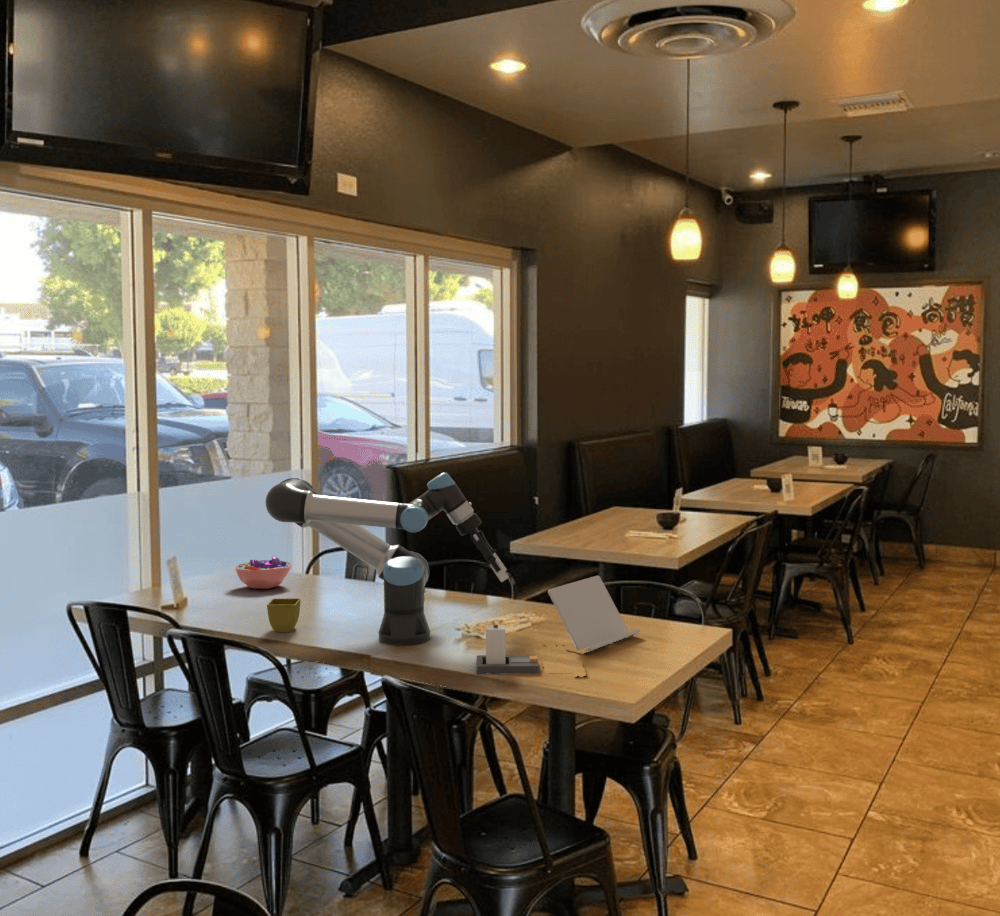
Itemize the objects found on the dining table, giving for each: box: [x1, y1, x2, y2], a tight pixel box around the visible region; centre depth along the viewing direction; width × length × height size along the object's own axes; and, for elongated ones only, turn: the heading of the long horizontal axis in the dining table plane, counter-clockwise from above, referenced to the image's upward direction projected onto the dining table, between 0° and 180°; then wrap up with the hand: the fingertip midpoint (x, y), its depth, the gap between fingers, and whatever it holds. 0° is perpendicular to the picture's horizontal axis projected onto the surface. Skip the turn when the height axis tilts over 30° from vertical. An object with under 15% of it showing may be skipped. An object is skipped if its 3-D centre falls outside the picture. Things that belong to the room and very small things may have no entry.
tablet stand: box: [547, 574, 642, 653], centre depth 307 cm, size 18×25×17 cm
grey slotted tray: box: [476, 654, 540, 675], centre depth 279 cm, size 16×10×4 cm, turn 92°
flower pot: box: [266, 597, 301, 633], centre depth 321 cm, size 9×9×9 cm
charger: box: [485, 624, 506, 664], centre depth 279 cm, size 5×4×12 cm
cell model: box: [234, 555, 293, 590], centre depth 378 cm, size 17×20×11 cm
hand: (504, 575), depth 322 cm, fingers open, 13 cm apart
